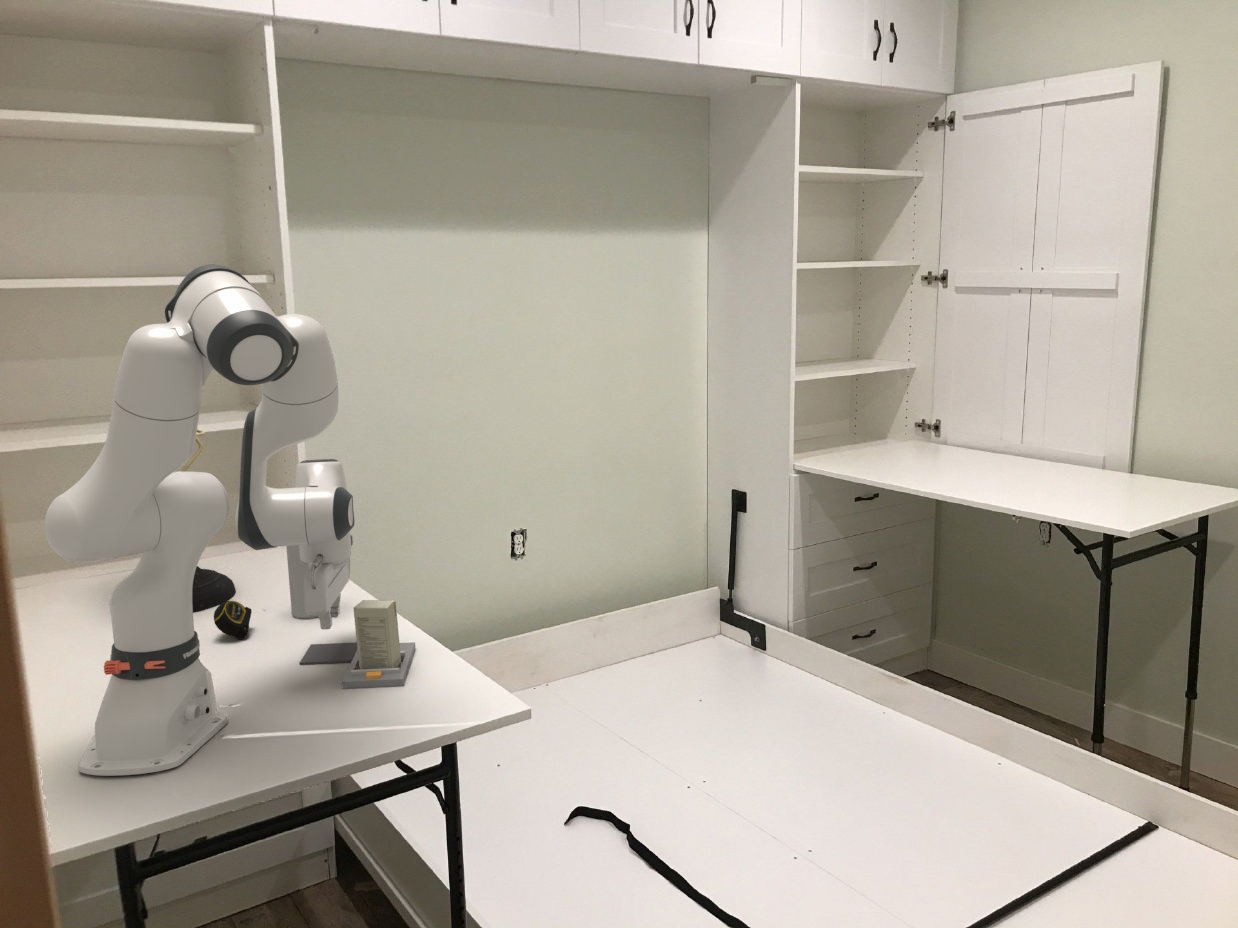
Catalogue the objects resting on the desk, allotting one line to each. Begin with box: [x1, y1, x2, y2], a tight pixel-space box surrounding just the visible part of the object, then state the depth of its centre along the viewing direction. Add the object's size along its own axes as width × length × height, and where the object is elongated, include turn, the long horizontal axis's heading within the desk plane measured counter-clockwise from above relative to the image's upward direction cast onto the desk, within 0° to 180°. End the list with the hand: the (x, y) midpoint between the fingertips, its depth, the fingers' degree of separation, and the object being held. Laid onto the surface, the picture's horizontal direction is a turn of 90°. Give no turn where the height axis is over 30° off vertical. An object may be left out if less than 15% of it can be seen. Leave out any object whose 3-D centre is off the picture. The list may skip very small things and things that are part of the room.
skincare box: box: [353, 599, 402, 670], centre depth 169 cm, size 6×4×12 cm
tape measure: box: [213, 600, 253, 640], centre depth 187 cm, size 7×7×4 cm
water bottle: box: [285, 545, 319, 620], centre depth 196 cm, size 9×8×25 cm
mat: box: [299, 641, 357, 666], centre depth 178 cm, size 9×9×1 cm
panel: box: [341, 641, 416, 690], centre depth 171 cm, size 17×10×2 cm, turn 5°
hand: (330, 622), depth 176 cm, fingers open, 5 cm apart
